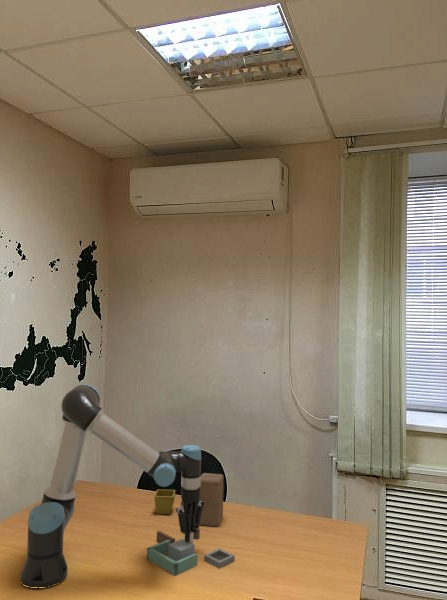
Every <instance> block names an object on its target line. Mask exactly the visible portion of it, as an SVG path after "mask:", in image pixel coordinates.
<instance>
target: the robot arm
mask: <svg viewBox="0 0 447 600" xmlns="http://www.w3.org/2000/svg"><path fill="white" fill-rule="evenodd" d="M100 402H101V396H100V393H99V392H98V390H97V389H96V388H95V387H94V386H92V385H89V384H78V385H76V386H74V387H73V388H72V389H71V390H69V391H68V392H67V393H65V395H64V397H63V399H62V400H61V411H62V417H61V418H62V419H61V420H62V421H63V423H64V428H63V431H62V436H61V438H60V439H61V440H60V444H59V448H58V451H57V456H56V459H55V465H54V469H53V472H52V477H51V480H50V484H49V486H48V487H46V488H45V489H44V491H43V495H42V499H41V503H40V504H39V505H36V506H34V507H33V508H31V510H30V512H29V513H28V519H27V546H26V550H27V551H26V552H27V554H26V559H25V562H24V564H23V567H22V570H21V573H20V583H21V582H22V583H23V584H24V585H26V586H29V587H38V588H39V587H48V586H52V585H54V584H57V583H59V582H61V581H62V580H64V579H65V578H66V579H67V577H68V571H69V570H68V564H67V561H66V557H65V554H64V532H65V530H66V528H67V526H68V524H69V522H70V520H71V518H72V517H73V515H74V512H75V500H76V498H77V494H76V491H75V490H74V487H75V483H76V479H77V475H78V472H79V471H78V470H79V467H80V462H81V458H82V455H83V451H84V447H85V446H84V445H85V441H86V437H87V434H88V432H90V433H92V435H94V436H96V437H97V438H98V439H100V440H101V441H102V442H104V443H105V444H107V445H108V446H109V447H111V448H112V449H113V450H115V451H116V452H118V453H119V454H120V455H122V456H123V457H125V459H127V460H129V461H130V462H131V463H133V464H134V465H136V466H137V467H139V469H141V470H142V471H144V472H145V473H147V474H148V475H149V476H151V477H152V478H153V479H154V481H155V484H157V485H158V486H160V487H168V486H170V485H172V483H174V481H175V479H176V474H177V473H180V472H181V473H180V477H181V479H180V481H181V482H180V485H181V487H180V498H181V502H180V506H179V508H175V512H176V514H177V518H178V524H179V529H180V532H181V533H182V534H184V540H185V541H186V542H190V543H192V544H194V540H195V538H194V535H195V532H197V530H196V529H198V528H199V527H200V525H199V524H200V518H201V513H202V508H203V506H204V502H202V501H200V499H199V498H200V486H201V475H202V474H201V473H202V449H201V447H200V446H199V445H196V444H188V445H187V444H186V445H183V446H182V447H181V450H180V451H162V450H159V451H156V450H154V449H153V448H152V447H150V446H149V445H147V444H146V443H145V442H144V441H142V440H140V439H139V438H137V436H135V435H134V434H132V433H131V432H130V431H128V430H127V429H126V428H124V427H123V426H122V425H120V424H119V423H118V422H116V421H115V420H113V419H112V418H111V417H109V416H108V415H106V414H105V413H104V410H103V408H102V407H101V406H100ZM199 529H200V528H199ZM66 576H67V577H66ZM64 581H65V580H64ZM62 582H63V581H62ZM62 582H61V583H62ZM59 584H60V583H59ZM57 585H58V584H57ZM52 587H53V586H52Z"/></svg>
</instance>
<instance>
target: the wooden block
mask: <svg viewBox="0 0 447 600" xmlns="http://www.w3.org/2000/svg"><path fill="white" fill-rule="evenodd" d="M199 499H200V501H202V502H204V506H203V508H202V513H201V518H200V524H199V526H207V527H208V526H209V527H216V528H217V527H219V526H220V524H221V521H222V520H223V517H224V475H223V474H221V473H210V472H209V473H208V472H203V473H202V474H201V486H200V498H199Z"/></svg>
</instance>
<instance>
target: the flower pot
mask: <svg viewBox="0 0 447 600" xmlns="http://www.w3.org/2000/svg"><path fill="white" fill-rule="evenodd" d="M153 497H154V507H155V511H156V512H157V514H159V515H170V513H171V512H172V509H173V506H174V502H175V497H176V490H175V489H157V490H156V491H155V494H154V496H153Z"/></svg>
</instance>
